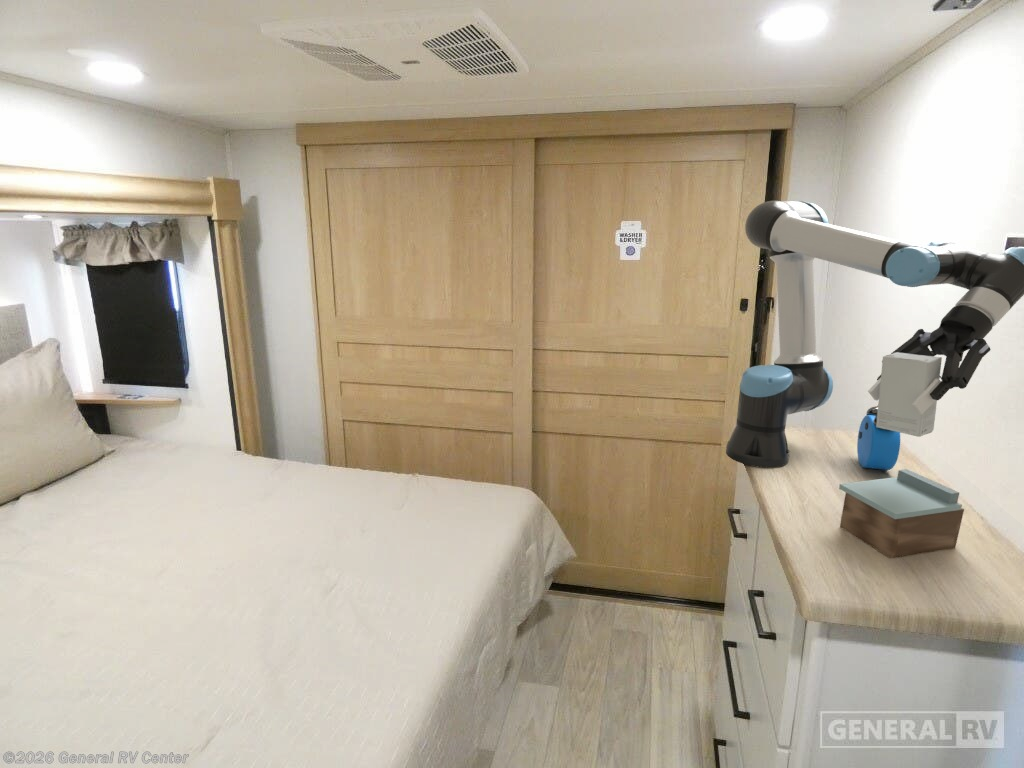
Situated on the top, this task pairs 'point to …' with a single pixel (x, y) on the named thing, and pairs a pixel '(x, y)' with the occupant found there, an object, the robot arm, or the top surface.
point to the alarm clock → (877, 443)
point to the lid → (904, 495)
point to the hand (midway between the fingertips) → (893, 402)
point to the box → (900, 529)
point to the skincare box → (906, 393)
